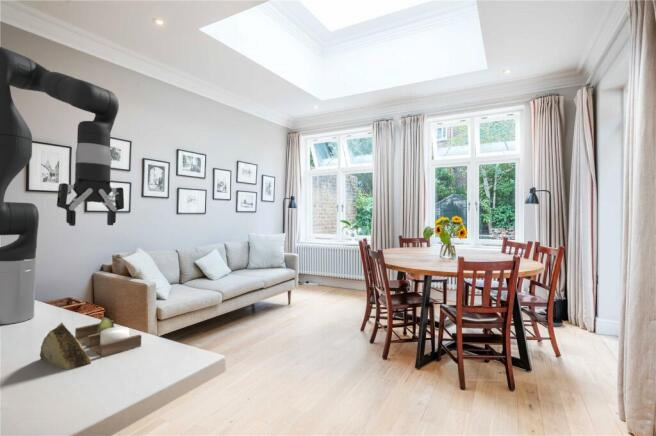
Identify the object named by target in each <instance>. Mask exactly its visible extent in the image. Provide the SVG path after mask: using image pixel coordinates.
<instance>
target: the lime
mask: <svg viewBox="0 0 656 436" xmlns="http://www.w3.org/2000/svg"><path fill="white" fill-rule="evenodd" d="M99 323H100V324H99V326H98V329H97V331H96V334H97V333H101V331H102V330H105V329H108V328H113V326H112V322H111V319H110V318H108V317H102V318H101V321H100V322H99Z"/></svg>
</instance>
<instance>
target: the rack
mask: <svg viewBox="0 0 656 436" xmlns="http://www.w3.org/2000/svg"><path fill="white" fill-rule="evenodd" d="M110 320H111V319H110ZM111 322H112V326H113V327H114V326H115V325H114V324H115V322H114V320H111ZM99 324H100V322H98V323H93V324H90V325H83V326H80V327H79V326H78V327H75V332H74V333H75V334H74V335H75V336H74V337H75V338H76V339H77V340H78V341H79V342H80V344H81V345H83V346H85V347H86V348H88V349H89V350H91V351H92V352H94V353H95V354H97V355H98V356H99V357H100V358H105V357H108V356H112V355H115V354H119V353H122V352H126V351H129V350H133V349H136V348H140V347H142V334H136V335H133V336H129V337H128V338H124V339H120V340H116V341H112V342H108V343H104V344H101V347H100V336H101V333H97V334H96V331H97V329H98V326H99Z"/></svg>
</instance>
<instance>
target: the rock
mask: <svg viewBox="0 0 656 436" xmlns="http://www.w3.org/2000/svg"><path fill="white" fill-rule="evenodd" d="M39 357H40V360H41V361H45V362H47V363H50V364H53V365H55V366H58V367H60V368H62V369H65V370H71V369H77V368H81V367H84V366H88V365H91V364H92V363H91V362H92V361H91V358H90V357H89V355H88V354H87V352H86V351H85V349H84V348H83V344H82V343H81V342H79V341H78V340H77V339H76V338H75V336H74V335H73V334H72V332H71V331H70V330H69V329H68V328H67V327H66V325H65V324H64V323H63V322H60V323H59V324H58V325H57V326H56V327H54V328H53V329H52V330H50V331H49V332H48V333H47V335H46V336H44V338H43V340H42V343H41V346H40V352H39Z"/></svg>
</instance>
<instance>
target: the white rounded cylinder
mask: <svg viewBox="0 0 656 436" xmlns="http://www.w3.org/2000/svg"><path fill="white" fill-rule="evenodd" d="M128 337H130V328H129V327H126V326H115V327H113V328H108V329H105V330H102V331H101V336H100V347H101V344H104V343H108V342H112V341H116V340H120V339H124V338H128Z"/></svg>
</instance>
